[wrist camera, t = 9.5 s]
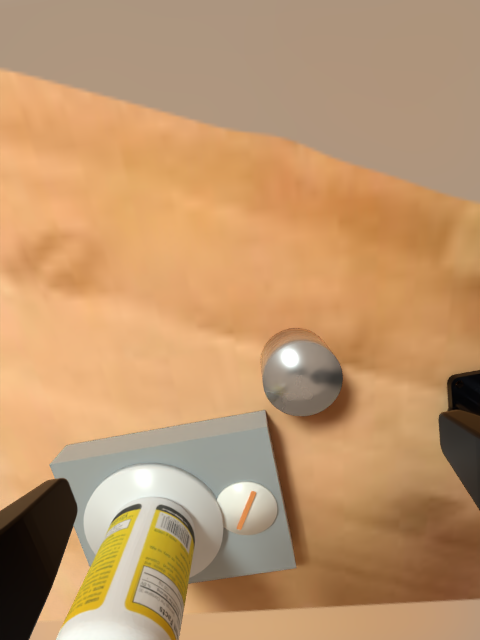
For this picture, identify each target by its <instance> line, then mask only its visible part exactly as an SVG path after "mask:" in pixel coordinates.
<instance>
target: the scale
mask: <svg viewBox="0 0 480 640" xmlns="http://www.w3.org/2000/svg"><path fill="white" fill-rule="evenodd" d="M50 467H51V470H52V472H53V475H54V477H55V479H58V478H65V479H67V480H68V482H69V484H70V487H71V490H72V492H73V495H74V497H75V500H76V503H77V507H78V512H77V517H76V520H75V523H74V528H75V530H76V533H77V536H78V538H79V541H80V543H81V546H82V548H83V551H84V553H85V556H86V558H87V561H88V563H89V566H90V567H91V565H92V563H93V561H94V558H95V556H96V554H97V552H98V550H99V548H100V546H101V543H102V541H103V539H104V537H105V535H106V533H107V531H108V529H109V526H110V524H111V522H112V520H113V519H114V517H115V515H116V514H117V512H118V511H119V510H120V509H121V508H122V507H123V506H124V505H125V504H127V503H128V502H130V501H132V500H135V499H138V498H143V497H160V498H164V499H168V500H170V501H173V502H175V503H176V504H178V505H179V506H181V507H182V508H183V509H184V510H185V511H186V512H187V513H188V515H189V516H190V518H191V519H192V521H193V524H194V527H195V547H194V553H193V559H192V565H191V570H190V576H189V582H188V584H190V583H196V582H203V581H210V580H217V579H224V578H231V577H238V576H245V575H252V574H259V573H266V572H273V571H280V570H287V569H293V568H296V562H295V555H294V549H293V542H292V537H291V532H290V528H289V523H288V518H287V513H286V508H285V503H284V499H283V494H282V489H281V484H280V479H279V474H278V470H277V465H276V460H275V455H274V450H273V445H272V441H271V436H270V431H269V426H268V421H267V416H266V412H265V410H263V411H257V412H252V413H246V414H241V415H235V416H229V417H224V418H218V419H212V420H207V421H201V422H195V423H190V424H184V425H178V426H173V427H167V428H161V429H156V430H150V431H144V432H139V433H133V434H127V435H122V436H116V437H110V438H105V439H99V440H93V441H88V442H82V443H77V444H71V445H66V446H65V447H64V449H63V450H62V451H61V452H60V453H59V454H58V455H57V457H56V458H55V459H54V460H53V461H52V462H51V463H50Z"/></svg>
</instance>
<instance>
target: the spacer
mask: <svg viewBox="0 0 480 640" xmlns="http://www.w3.org/2000/svg"><path fill="white" fill-rule="evenodd" d="M261 370H262V379H263V387H264V391H265V394H266V396H267V398H268V399H269V401H270V402H271V403H272V404H273V405H274V406H275V407H276V408H277V409H279V410H280V411H282V412H284V413H286V414H289V415H293V416H309V415H313V414H316V413H319V412H321V411H323V410H324V409H326V408H327V407H329V406H330V405H331V404H332V403H333V402H334V401H335V399H336V398H337V396H338V394H339V393H340V390H341V387H342V381H343V375H342V369H341V366H340V364H339V362H338V360H337V359H336V357H335V356H334V355H333V353H332V352H331V351H330V349H329V348H328V347H327V345H326V344H325V343H324V342H323V340H322V339H321V338H320V337H319V336H318V335H316V334H315V333H313V332H311V331H309V330H306V329H300V328H292V329H287V330H284V331H281V332H279V333H277V334H276V335H274V336H273V337H272V338H271V339H270V340H269V341H268V342H267V343H266V345H265V347H264V349H263V351H262V354H261Z"/></svg>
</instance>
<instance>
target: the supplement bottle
mask: <svg viewBox="0 0 480 640" xmlns="http://www.w3.org/2000/svg"><path fill="white" fill-rule="evenodd" d="M194 547H195V527H194V524H193V521H192V519H191V518H190V516H189V515H188V513H187V512H186V511H185V510H184V509H183V508H182V507H181V506H179V505H178V504H176V503H175V502H173V501H170V500H168V499H164V498H160V497H143V498H138V499H135V500H132V501H130V502H128V503H127V504H125V505H124V506H123V507H122V508H121V509H120V510H119V511H118V512H117V514H116V515H115V517H114V519H113V520H112V522H111V524H110V526H109V529H108V531H107V533H106V535H105V537H104V539H103V541H102V543H101V546H100V548H99V550H98V552H97V554H96V556H95V558H94V561H93V563H92V565H91V567H90V569H89V571H88V573H87V575H86V577H85V579H84V581H83V584H82V586H81V588H80V590H79V592H78V594H77V596H76V598H75V600H74V602H73V604H72V607H71V609H70V611H69V613H68V615H67V617H66V619H65V621H64V623H63V625H62V627H61V629H60V632H59V634H58V636H57V638H56V640H179V635H180V629H181V624H182V617H183V612H184V606H185V600H186V594H187V588H188V582H189V576H190V570H191V565H192V559H193V553H194Z"/></svg>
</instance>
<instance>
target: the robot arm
mask: <svg viewBox="0 0 480 640" xmlns="http://www.w3.org/2000/svg"><path fill="white" fill-rule="evenodd" d="M457 381H459V384H458V385H455V383H456V382H457ZM447 385H448V401H449V408H448V410H447V412H442V413H441V414H440V415H439V433H440V445H441V449H442V452H443V454H444V455H445V457H446V459H447V460H448V462H449V463H450V465H451V466H452V468H453V470H454V471H455V473H456V474H457V476H458V477H459V479H460V480H461V482H462V484H463V485H464V487H465V488H466V490H467V491H468V493H469V494H470V496H471V498H472V499H473V501H474V502H475V504H476V505H477V507H478V508H479V510H480V370H478V371H472V372H467V373H461V374H455V375H452V376H451V377H450V378H449V379H448V382H447ZM77 512H78V507H77V503H76V500H75V497H74V495H73V492H72V490H71V487H70V484H69V482H68V480H67V479H65V478H58V479H52V480H48V481H46V482H44V483H42V484H41V485H39V486H38V487H36V488H35V489H33V490H32V491H30V492H29V493H27V494H26V495H24V496H23V497H21V498H19V499H18V500H16V501H15V502H13V503H12V504H10V505H9V506H7V507H6V508H4V509H3V510H1V511H0V640H29V639H30V636H31V634H32V632H33V629H34V627H35V625H36V623H37V620H38V618H39V616H40V613H41V611H42V609H43V607H44V604H45V602H46V600H47V597H48V595H49V593H50V590H51V588H52V585H53V583H54V580H55V577H56V575H57V572H58V569H59V566H60V563H61V560H62V557H63V554H64V552H65V549H66V546H67V543H68V540H69V537H70V534H71V531H72V528H73V526H74V523H75V520H76V517H77Z"/></svg>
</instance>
